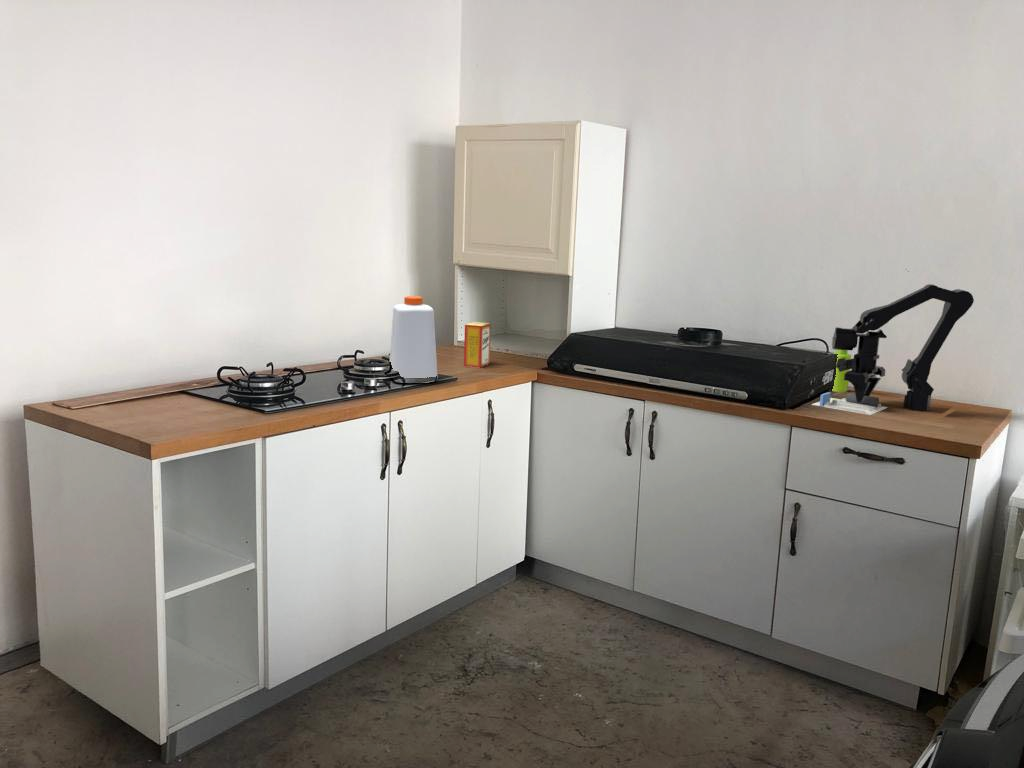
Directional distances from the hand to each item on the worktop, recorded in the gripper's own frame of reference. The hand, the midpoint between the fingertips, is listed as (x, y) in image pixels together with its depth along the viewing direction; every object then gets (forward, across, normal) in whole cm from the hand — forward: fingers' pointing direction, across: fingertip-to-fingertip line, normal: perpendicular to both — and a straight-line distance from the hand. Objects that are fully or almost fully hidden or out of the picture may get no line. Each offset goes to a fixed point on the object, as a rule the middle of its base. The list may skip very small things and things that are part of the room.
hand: (862, 401), depth 266 cm
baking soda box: (+2, +41, -127) cm, 133 cm away
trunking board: (+2, +4, -2) cm, 5 cm away
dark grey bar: (+1, 0, 0) cm, 1 cm away
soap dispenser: (+2, -18, -14) cm, 23 cm away
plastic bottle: (+2, +78, -121) cm, 144 cm away
